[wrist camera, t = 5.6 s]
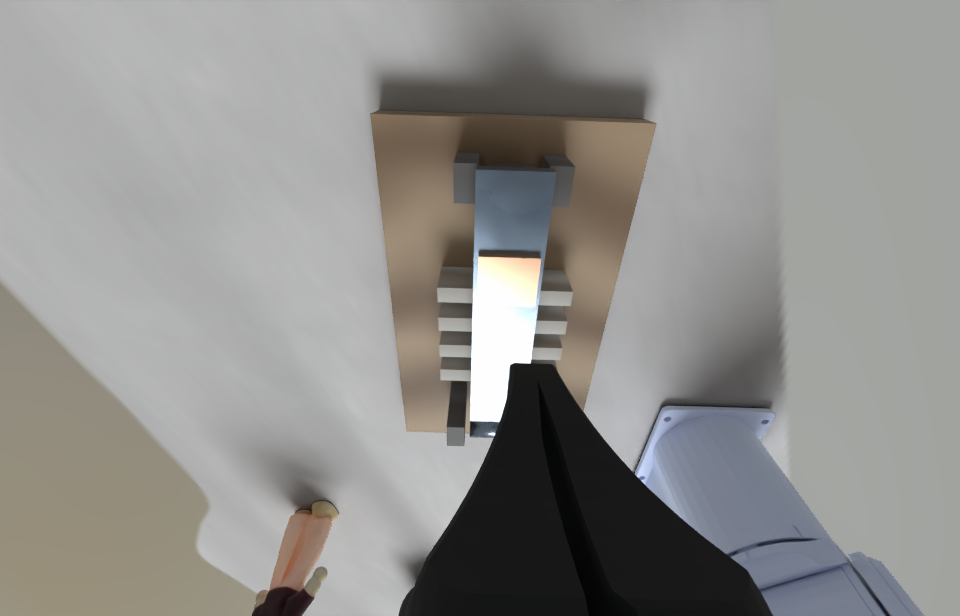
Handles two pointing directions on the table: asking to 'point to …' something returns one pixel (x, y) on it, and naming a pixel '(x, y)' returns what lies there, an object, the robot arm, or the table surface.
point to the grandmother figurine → (298, 563)
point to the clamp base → (450, 242)
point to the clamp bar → (505, 279)
